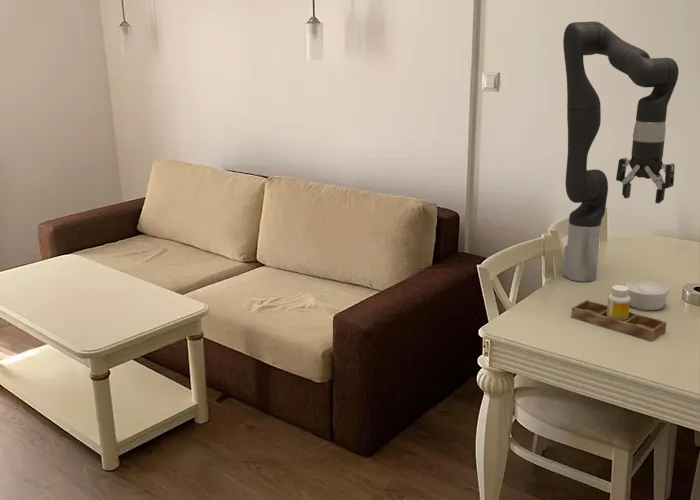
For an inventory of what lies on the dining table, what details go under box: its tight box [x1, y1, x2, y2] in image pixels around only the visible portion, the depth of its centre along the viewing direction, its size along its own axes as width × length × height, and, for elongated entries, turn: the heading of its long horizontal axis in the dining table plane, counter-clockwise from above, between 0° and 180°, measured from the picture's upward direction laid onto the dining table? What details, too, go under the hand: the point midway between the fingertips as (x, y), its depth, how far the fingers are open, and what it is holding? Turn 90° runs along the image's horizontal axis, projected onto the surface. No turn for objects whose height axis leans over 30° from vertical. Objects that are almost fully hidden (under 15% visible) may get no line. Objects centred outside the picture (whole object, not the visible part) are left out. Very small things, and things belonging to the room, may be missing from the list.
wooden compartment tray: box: [570, 299, 667, 342], centre depth 185 cm, size 22×8×3 cm, turn 44°
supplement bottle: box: [606, 284, 631, 322], centre depth 184 cm, size 5×5×10 cm
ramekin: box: [624, 280, 670, 311], centre depth 198 cm, size 11×11×5 cm
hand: (642, 200), depth 188 cm, fingers open, 8 cm apart
